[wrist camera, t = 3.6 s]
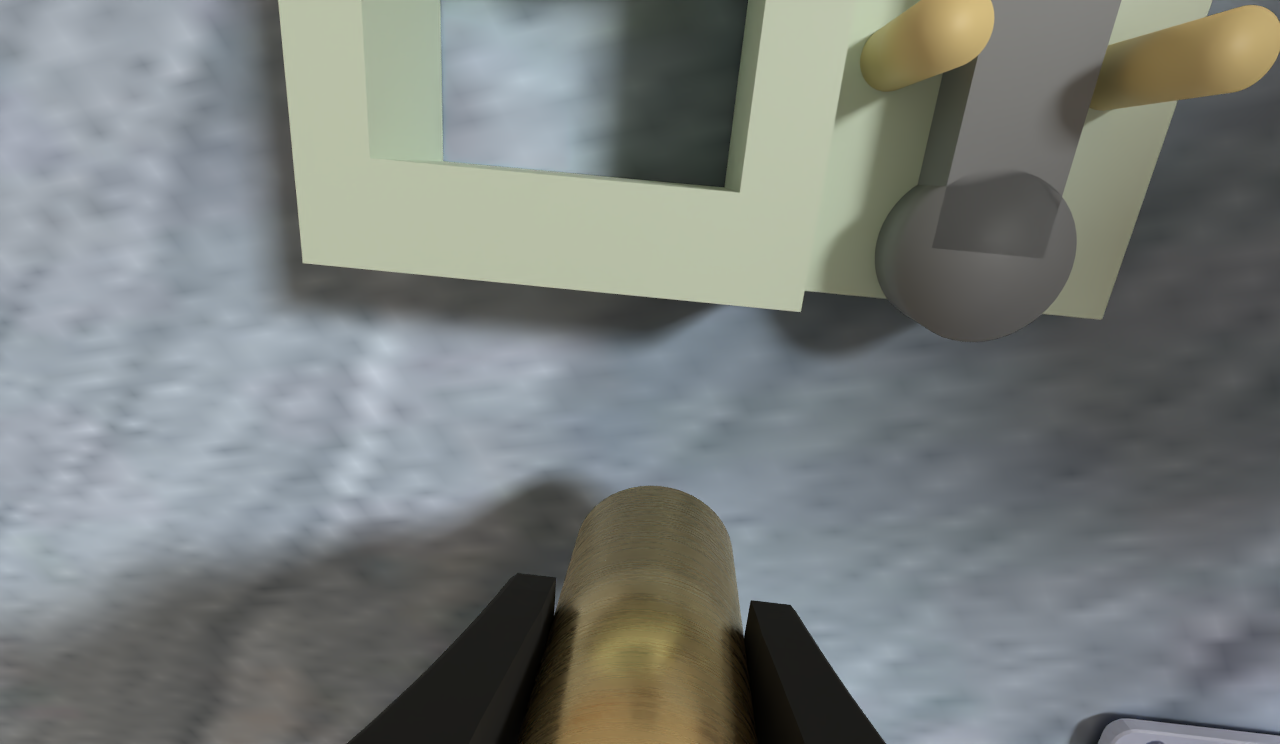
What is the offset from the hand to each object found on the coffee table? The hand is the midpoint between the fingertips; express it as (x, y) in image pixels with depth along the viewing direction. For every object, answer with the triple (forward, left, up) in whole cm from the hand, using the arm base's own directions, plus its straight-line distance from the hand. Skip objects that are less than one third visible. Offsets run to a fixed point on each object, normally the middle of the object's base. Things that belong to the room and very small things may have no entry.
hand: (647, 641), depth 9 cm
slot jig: (-1, -9, -5) cm, 10 cm away
